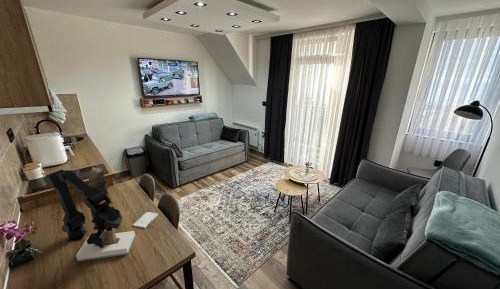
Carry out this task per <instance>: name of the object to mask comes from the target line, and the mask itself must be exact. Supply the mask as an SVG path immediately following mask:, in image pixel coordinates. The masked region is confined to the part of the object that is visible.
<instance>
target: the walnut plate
mask: <svg viewBox="0 0 500 289" xmlns="http://www.w3.org/2000/svg"><path fill="white" fill-rule="evenodd" d="M103 233H105V237H106V238H105V239H104V245H111V244H117V239H116V235H115V233H116V232H115V230H114V229H112V230H111V231H106V230H105V231H104V232H103Z"/></svg>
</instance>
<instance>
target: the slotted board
mask: <svg viewBox="0 0 500 289" xmlns="http://www.w3.org/2000/svg"><path fill="white" fill-rule="evenodd" d="M115 235H116V239H117V244H111V245H104V248H100V247H99V246H97V245H95V244H87V241H86V240H87V239H88V238H89V236H88V237H87V238H86V240H85V241H84V243H83V244H82V245H81V247H80V249H79V250H78V251H77V252H76V254H75V257H76V260H77V262H84V261H91V260H97V259H104V258H105V259H106V258H111V257H118V256H119V257H120V256H126V255H129V252H130V250H131V248H132V245H133V243H134V240H135V238H136V234H135V231H134V230H132V231H131V230H130V231H123V232H115Z"/></svg>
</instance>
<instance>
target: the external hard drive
mask: <svg viewBox="0 0 500 289" xmlns="http://www.w3.org/2000/svg"><path fill="white" fill-rule="evenodd" d="M158 215H159V213H156V212H149V211H146V212H145V213H144V214H142V216H140V218H139V219H138V220H136V221H135V223H134V224H132V227H134V228H135V227H136V228H140V229H141V228H142V229H146V228H147V227H148V226H149V225H150V224H151V223H152V222H151V221H154V220H155V218H157V216H158ZM150 222H151V223H150ZM149 223H150V224H149ZM148 224H149V225H148Z"/></svg>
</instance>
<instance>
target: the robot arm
mask: <svg viewBox="0 0 500 289" xmlns="http://www.w3.org/2000/svg"><path fill="white" fill-rule="evenodd" d="M43 180H44V182H45V184H47V186H48V187H50V188H52V189H53V190H55V193H56V195H57V198H58V200H59V203H60V205H61V207H62V210H63V212H64V216H63V219H62V222H63V225H62V227H60V228H61V231H62V232H64V233H65V234H67V236H68V238H67V242H75V241H81V240H82V239H83V237H85V235H86V233H87V232H88V230H86V229H85V226H84V225H85V224H86V219H87V218H86V216H85V214H84V213H83V212H81V211H79V210H78V209H77V207H76V204H75V201H74V199H73V196H72V194H71V192H70V189H69V187H70V188H72V189H73V190H74V191H75V192H76V193H78V194H79V195H80V196H81V197H82V201H83V203H84V204H85V206H86V207H87V208H88V209H89V210H90V212H91V213H90V214H91V216H92V219H91V221H90V222H91V224H93V225H94V226H93V228H92V229H93V230H94V231H96V230H97V231H96V232H92V233H91V234H89V235H88V237H89V238H88V237H87V238H88V239H87V238H86V239H85V241H87V244H95V245H97V246H99V247H100V248H104V239H105V238H106V237H105V233H103V232H104V231H111V230H113V229H115V230H118V229H119V228H120V226H121V224H122V221H123V219H124V218H123V216H122V213H121V212H120V210H119V209H117V208H115V207H114V206H111V205H110V204H112V202H113V201H111V198H110V197H109V196H108V195H106V194H105V193H104V192H103V191H101V190H99V189H98V188H92V187H90V186H89V185H88V184H89V183H87V182H85V181H84V180H83V179H82V178H80V177H78V176H77V175H76V173H75V172H74V171H73V170H70V169H65V170H64V169H59V170H56V171H52V172H50V173H47V174H46V175H45V177H44V179H43ZM68 186H69V187H68Z"/></svg>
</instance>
